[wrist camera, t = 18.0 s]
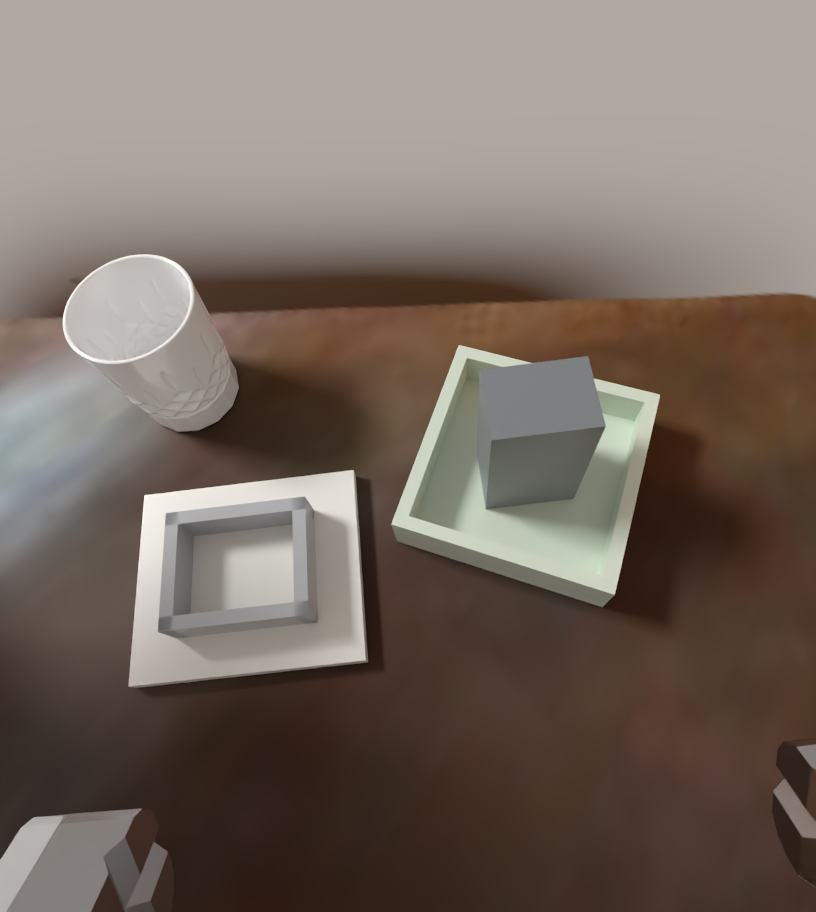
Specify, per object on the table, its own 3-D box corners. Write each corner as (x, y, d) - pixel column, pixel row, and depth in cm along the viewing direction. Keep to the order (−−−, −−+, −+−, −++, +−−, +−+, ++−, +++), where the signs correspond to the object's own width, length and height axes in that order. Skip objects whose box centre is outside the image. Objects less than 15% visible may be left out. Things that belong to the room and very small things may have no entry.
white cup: (227, 448, 44) (166, 372, 35) (125, 431, 45) (39, 354, 36) (260, 353, 47) (212, 260, 38) (163, 340, 48) (94, 247, 39)
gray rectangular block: (485, 509, 40) (491, 440, 31) (476, 448, 41) (478, 366, 32) (573, 498, 40) (605, 426, 30) (560, 438, 41) (587, 353, 32)
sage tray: (397, 541, 40) (391, 524, 37) (459, 373, 45) (458, 345, 42) (602, 607, 38) (614, 594, 34) (645, 420, 42) (659, 394, 39)
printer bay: (136, 687, 38) (106, 682, 35) (151, 500, 43) (126, 481, 40) (368, 662, 37) (359, 654, 34) (355, 475, 42) (346, 454, 39)
